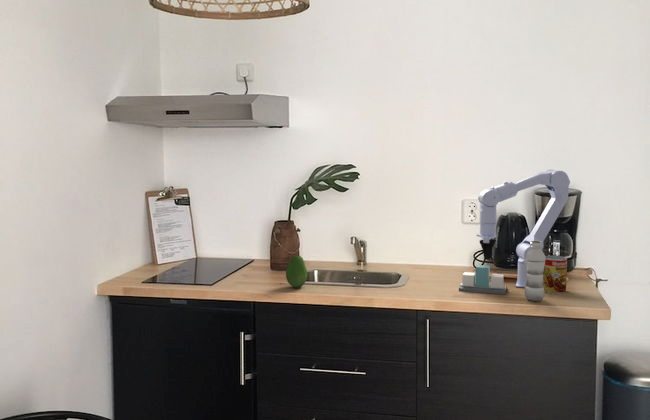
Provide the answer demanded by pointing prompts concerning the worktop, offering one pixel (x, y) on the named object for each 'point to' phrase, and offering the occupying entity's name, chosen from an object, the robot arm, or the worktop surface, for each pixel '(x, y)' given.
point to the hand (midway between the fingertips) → (487, 259)
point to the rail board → (495, 287)
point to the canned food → (555, 274)
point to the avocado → (296, 272)
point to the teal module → (482, 276)
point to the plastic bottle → (535, 272)
